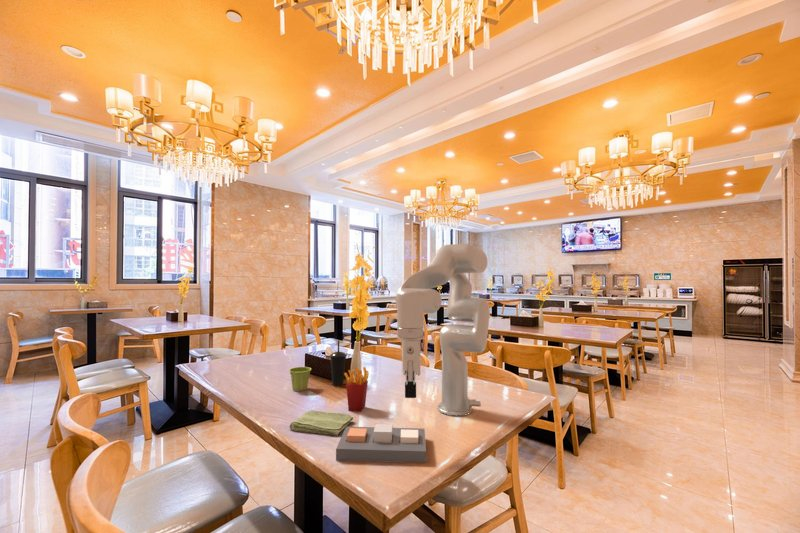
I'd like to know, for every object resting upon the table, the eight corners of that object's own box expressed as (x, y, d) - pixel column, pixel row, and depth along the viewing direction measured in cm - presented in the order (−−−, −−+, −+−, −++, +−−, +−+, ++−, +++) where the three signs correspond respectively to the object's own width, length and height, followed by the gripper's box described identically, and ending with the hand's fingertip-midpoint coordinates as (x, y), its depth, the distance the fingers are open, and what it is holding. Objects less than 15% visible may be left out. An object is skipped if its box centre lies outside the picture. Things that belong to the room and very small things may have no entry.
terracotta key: (366, 439, 101) (367, 428, 101) (364, 447, 96) (364, 436, 96) (349, 439, 101) (350, 428, 102) (346, 447, 96) (346, 435, 97)
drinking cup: (338, 388, 153) (339, 342, 154) (325, 385, 157) (326, 340, 158) (349, 383, 160) (350, 340, 160) (337, 381, 164) (338, 338, 164)
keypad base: (424, 438, 105) (424, 428, 105) (426, 462, 91) (426, 451, 91) (346, 436, 106) (346, 426, 106) (335, 460, 92) (336, 448, 92)
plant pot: (294, 385, 156) (294, 366, 157) (314, 386, 155) (314, 367, 155) (284, 392, 147) (285, 371, 147) (305, 393, 146) (306, 372, 146)
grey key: (392, 435, 101) (392, 424, 101) (391, 443, 96) (391, 432, 96) (375, 435, 101) (375, 424, 101) (373, 443, 96) (373, 431, 96)
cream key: (418, 441, 101) (418, 429, 101) (418, 449, 96) (418, 437, 96) (400, 440, 101) (401, 429, 101) (400, 448, 96) (400, 437, 96)
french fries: (362, 412, 125) (363, 371, 125) (341, 411, 126) (341, 369, 127) (369, 404, 133) (370, 365, 134) (349, 402, 135) (350, 364, 136)
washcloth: (339, 438, 105) (339, 428, 105) (287, 432, 109) (287, 422, 110) (354, 421, 118) (354, 412, 118) (307, 416, 122) (307, 407, 122)
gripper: (424, 338, 92) (424, 407, 92) (422, 328, 107) (422, 388, 107) (396, 337, 92) (396, 407, 92) (398, 328, 107) (398, 388, 107)
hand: (410, 396), depth 99 cm, fingers closed
